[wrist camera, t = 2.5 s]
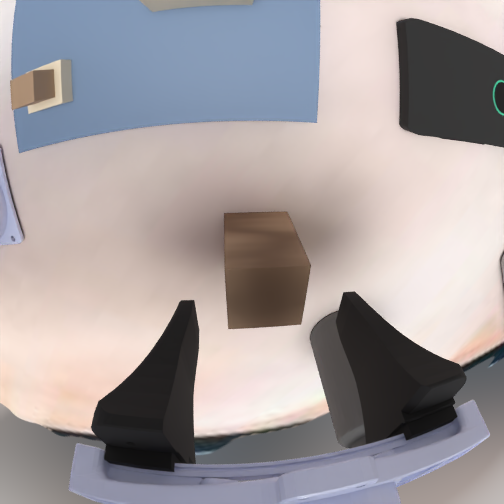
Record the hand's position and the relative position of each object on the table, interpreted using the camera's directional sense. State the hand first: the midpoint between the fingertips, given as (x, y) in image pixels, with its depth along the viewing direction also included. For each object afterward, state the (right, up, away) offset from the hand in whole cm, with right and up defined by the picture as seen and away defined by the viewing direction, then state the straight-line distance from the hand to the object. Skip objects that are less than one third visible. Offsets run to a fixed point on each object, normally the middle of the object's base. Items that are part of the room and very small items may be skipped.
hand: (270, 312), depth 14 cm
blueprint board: (-6, +17, -3) cm, 18 cm away
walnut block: (-1, +4, +6) cm, 7 cm away
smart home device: (+18, +16, +1) cm, 24 cm away
